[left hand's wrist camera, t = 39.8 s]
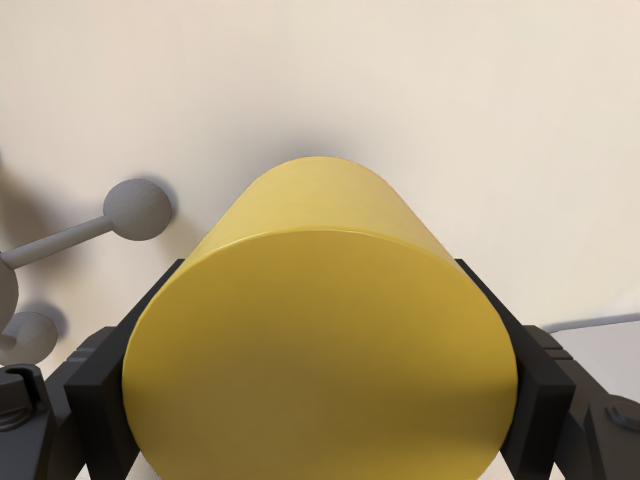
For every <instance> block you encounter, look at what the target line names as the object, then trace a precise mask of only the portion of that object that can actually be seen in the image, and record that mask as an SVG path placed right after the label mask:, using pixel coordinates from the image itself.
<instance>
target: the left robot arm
mask: <svg viewBox="0 0 640 480" xmlns="http://www.w3.org/2000/svg"><path fill="white" fill-rule="evenodd" d="M454 260H455V261H456V262H457V263H458V264H459V266H460V267H461V268H462V269H463V270H464V271H465V272H466V274H467V275H468V276H469V277H470V278H471V279H472V281H473V282H474V283H475V284H476V285H477V286H478V288H479V289H480V290H481V291H482V292H483V293H484V295H485V296H486V297H487V299H488V300H489V301H490V303H491V304H492V306H493V307H494V309H495V310H496V311H497V313H498V314H499V316H500V318H501V320H502V322H503V324H504V326H505V328H506V330H507V332H508V334H509V337H510V340H511V344H512V347H513V351H514V354H515V358H516V367H517V375H518V390H517V403H516V407H515V412H514V417H513V421H512V424H511V426H510V429H509V431H508V434H507V436H506V439H505V441H504V443H503V445H502V446H501V448H500V452H501V454H502V456H503V458H504V460H505V462H506V464H507V466H508V468H509V470H510V472H511V474H512V476H513V477H514V479H515V480H549V477H550V474H551V470H552V467H553V464H554V462H555V463H556V465H557V466H558V468H559V469H560V471H561V472H562V474H563V476H564V477H565V480H640V403H638V402H636V401H633V400H631V399H628V398H625V397H622V396H618V395H612V394H609V393H608V392H607V391H606V390H605V389H604V388H603V387H602V386H601V385H600V384H599V383H598V382H597V381H596V380H595V379H594V378H593V377H592V376H591V375H590V374H589V373H588V372H587V371H586V370H585V369H584V368H583V367H582V366H581V365H580V364H579V363H578V362H577V361H576V360H574V359H573V357H572V356H571V355H570V354H569V353H568V352H567V351H566V350H564V349H563V347H562V346H561V345H560V344H559V343H558V342H557V341H556V340H555V339H554V338H553V337H552V336H551V335H550V334H548V333H546V332H545V331H543V330H541V329H540V328H538V327H536V326H535V325H521V323H520V322H519V321H518V320H517V319H516V318H515V317H514V316H513V315H512V314H511V312H510V311H509V310H508V309H507V308H506V307H505V306H504V305H503V304H502V303H501V301H500V300H499V299H498V298H497V297H496V296H495V295H494V294H493V293H492V292H491V290H490V289H489V288H488V287H487V286H486V285H485V284H484V283H483V282H482V281H481V280H480V278H479V277H478V276H477V275H476V274H475V273H474V272H473V271H472V270H471V269H470V267H469V266H468V265H467V264H466V263H465V262H464V261H463V260H462V259H454ZM184 261H185V259H177V261H176V262H175V263H174V264H173V265H172V266H171V267H170V268H169V269H168V270H167V272H166V273H165V274H164V275H163V276H162V277H161V278H160V279H159V280H158V281H157V283H156V284H155V285H154V286H153V287H152V288H151V289H150V290H149V291H148V292H147V293H146V295H145V296H144V297H143V298H142V299H141V300H140V301H139V302H138V303H137V304H136V306H135V307H134V308H133V309H132V310H131V311H130V312H129V313H128V314H127V315H126V317H125V318H124V319H123V320H122V321H121V322H120V323H119V324H118V325H117V326H116V327H104V328H102V329H101V330H99V331H97V332H96V333H94V334H92V335H91V336H89V337H88V338H87V339H86V340H85V341H84V342H83V343H82V344H81V345H80V346H79V347H78V348H77V351H74V352H73V353H72V354H71V355H70V356H69V357H68V358H67V361H66V362H63V363H62V364H61V365H60V366H59V367H58V368H57V369H56V370H55V371H54V372H53V373H52V374H51V375H50V376H49V377H48V378H47V379H46V380H45V381H44V380H43V376H42V373H41V370H40V368H39V367H37V366H36V365H34V364H25V363H21V364H15V365H8V366H5V367H2V368H0V480H75V479H76V477H77V476H78V474H79V473H80V471H81V469H82V468H83V466H84V465H85V463H86V465H87V468H88V471H89V475H90V478H91V480H125V479H126V477H127V475H128V473H129V471H130V469H131V467H132V465H133V463H134V462H135V460H136V458H137V456H138V454H139V452H140V449H139V447H138V446H137V444H136V442H135V440H134V437H133V435H132V432H131V430H130V428H129V425H128V422H127V418H126V414H125V410H124V406H123V396H122V373H123V362H124V357H125V353H126V350H127V346H128V342H129V339H130V336H131V334H132V332H133V330H134V328H135V325H136V323H137V321H138V319H139V317H140V316H141V314H142V313H143V311H144V310H145V308H146V307H147V305H148V304H149V302H150V301H151V299H152V298H153V297H154V296H155V294H156V293H157V292H158V291H159V290H160V289H161V287H162V286H163V285H164V284H165V283H166V282H167V280H168V279H169V278H170V277H171V276H172V275H173V273H174V272H175V271H176V270H177V269H178V268H179V266H180V265H181V264H182V263H183V262H184Z"/></svg>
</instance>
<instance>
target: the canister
mask: <svg viewBox="0 0 640 480" xmlns="http://www.w3.org/2000/svg"><path fill="white" fill-rule="evenodd" d="M517 390H518V375H517V367H516V358H515V354H514V351H513V347H512V344H511V340H510V337H509V334H508V332H507V330H506V328H505V326H504V324H503V322H502V320H501V318H500V316H499V314H498V313H497V311H496V310H495V309H494V307H493V306H492V304H491V303H490V301H489V300H488V299H487V297H486V296H485V295H484V293H483V292H482V291H481V290H480V289H479V288H478V286H477V285H476V284H475V283H474V282H473V281H472V279H471V278H470V277H469V276H468V275H467V274H466V272H465V271H464V270H463V269H462V268H461V267H460V266H459V264H458V263H457V262H456V261H455V260H454V259H453V257H452V256H451V255H450V254H449V253H448V252H447V250H446V249H445V248H444V247H443V246H442V245H441V243H440V242H439V241H438V240H437V239H436V238H435V237H434V235H433V234H432V233H431V232H430V231H429V230H428V228H427V227H426V226H425V225H424V224H423V223H422V221H421V220H420V219H419V218H418V217H417V216H416V215H415V213H414V212H413V211H412V210H411V209H410V208H409V206H408V205H407V204H406V203H405V202H404V201H403V199H402V198H401V197H400V196H399V195H398V194H397V192H396V191H395V190H394V189H393V188H392V187H391V186H390V185H389V184H388V183H387V182H386V181H385V180H384V179H382V178H381V177H380V176H379V175H377V174H376V173H375V172H373V171H371V170H369V169H368V168H366V167H364V166H362V165H359V164H357V163H355V162H352V161H348V160H345V159H341V158H335V157H327V156H312V157H305V158H298V159H295V160H291V161H288V162H285V163H282V164H280V165H278V166H276V167H273V168H272V169H270V170H268V171H267V172H265V173H264V174H262V175H261V176H260V177H258V178H257V179H256V180H255V181H253V182H252V183H251V184H250V186H249V187H248V188H247V189H246V190H245V191H244V192H243V193H242V194H241V196H240V197H239V198H238V199H237V200H236V201H235V203H234V204H233V205H232V206H231V207H230V208H229V209H228V211H227V212H226V213H225V214H224V215H223V216H222V218H221V219H220V220H219V221H218V222H217V223H216V225H215V226H214V227H213V228H212V229H211V230H210V232H209V233H208V234H207V235H206V236H205V237H204V239H203V240H202V241H201V242H200V243H199V244H198V246H197V247H196V248H195V249H194V250H193V251H192V252H191V254H190V255H189V256H188V257H187V258H186V259H185V261H184V262H183V263H182V264H181V265H180V266H179V268H178V269H177V270H176V271H175V272H174V273H173V275H172V276H171V277H170V278H169V279H168V280H167V282H166V283H165V284H164V285H163V286H162V287H161V289H160V290H159V291H158V292H157V293H156V294H155V296H154V297H153V298H152V299H151V301H150V302H149V304H148V305H147V307H146V308H145V310H144V311H143V313H142V314H141V316H140V317H139V319H138V321H137V323H136V325H135V328H134V330H133V332H132V334H131V336H130V339H129V342H128V346H127V350H126V353H125V357H124V362H123V373H122V396H123V406H124V410H125V414H126V418H127V422H128V425H129V428H130V430H131V432H132V435H133V437H134V440H135V442H136V444H137V446H138V447H139V449H140V451H141V452H142V454H143V456H144V457H145V459H146V460H147V462H148V463H149V464H150V466H151V467H152V468H153V469H154V471H155V472H156V473H157V474H158V476H159V477H160V478H161V479H162V480H477V479H478V478H479V477H480V476H481V475H482V474H483V473H484V471H485V470H486V469H487V467H488V466H489V465H490V464H491V462H492V461H493V460H494V458H495V457H496V455H497V453H498V452H499V450H500V448H501V446H502V445H503V443H504V441H505V439H506V436H507V434H508V431H509V429H510V426H511V424H512V421H513V417H514V412H515V407H516V403H517Z"/></svg>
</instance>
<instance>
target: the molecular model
mask: <svg viewBox="0 0 640 480" xmlns="http://www.w3.org/2000/svg"><path fill="white" fill-rule="evenodd" d="M103 212H104V216H102V217H99V218H96V219H94V220H91V221H88V222H86V223H83V224H80V225H77V226H75V227H72V228H69V229H67V230H64V231H61V232H58V233H56V234H53V235H50V236H48V237H45V238H42V239H39V240H37V241H34V242H31V243H29V244H26V245H23V246H20V247H18V248H15V249H12V250H10V251H7V252H4V253H1V251H0V364H1V365H3V366H8V365H15V364H21V363H25V364H34V365H35V364H37V363H39V362H41V361H42V360H44V359H45V358H46V357H47V356H48V355H49V354H50V353H51V352H52V350H53V349H54V347H55V345H56V342H57V330H56V327H55V325H54V323H53V322H52V321H51V320H50V319H49V318H48V317H46V316H44V315H42V314H39V313H34V312H22V313H17V314H14V312H15V309H16V305H17V301H18V296H19V293H18V282H17V278H16V274H15V271H14V269H16V268H19V267H21V266H24V265H26V264H29V263H31V262H34V261H36V260H39V259H41V258H44V257H46V256H49V255H51V254H54V253H56V252H59V251H61V250H64V249H66V248H69V247H71V246H74V245H76V244H79V243H81V242H84V241H86V240H89V239H91V238H94V237H96V236H99V235H101V234H104V233H107V232H109V231H112V230H113V231H114V232H115V233H116V234H118V235H119V236H121V237H123V238H126V239H129V240H133V241H143V240H149V239H151V238H154V237H156V236H157V235H159V234H161V233H162V232H163V231H164V230H165V228H166V227H167V225H168V224H169V221H170V218H171V212H172V210H171V204H170V201H169V199H168V197H167V195H166V194H165V192H164V191H163V190H162V189H161V188H160V187H158V186H157V185H155V184H153V183H151V182H149V181H145V180H138V179H134V180H128V181H124V182H122V183H119V184H118V185H116V186H115V187H114V188H112V189H111V191H110V192H109V193H108V195H107V196H106V198H105V201H104V208H103ZM13 314H14V315H13Z"/></svg>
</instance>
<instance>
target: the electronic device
mask: <svg viewBox="0 0 640 480" xmlns="http://www.w3.org/2000/svg"><path fill="white" fill-rule="evenodd" d="M550 335H551V336H552V337H553V338H554V339H555V340H556V341H557V342H558V343H559V344H560V345H561V346H562V347H563V349H564V350H566V351H567V352H568V353H569V354H570V355H571V356H572V357H573V359H574V360H576V361H577V362H578V363H579V364H580V365H581V366H582V367H583V368H584V369H585V370H586V371H587V372H588V373H589V374H590V375H591V376H592V377H593V378H594V379H595V380H596V381H597V382H598V383H599V384H600V385H601V386H602V387H603V388H604V389H605V390H606V391H607V392H608V393H609V394H612V395H618V396H622V397H625V398H628V399H631V400H633V401H636V402H638V403H640V321H633V322H625V323H617V324H609V325H601V326H593V327H585V328H577V329H569V330H562V331H558V332H555V333H551V334H550Z"/></svg>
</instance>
